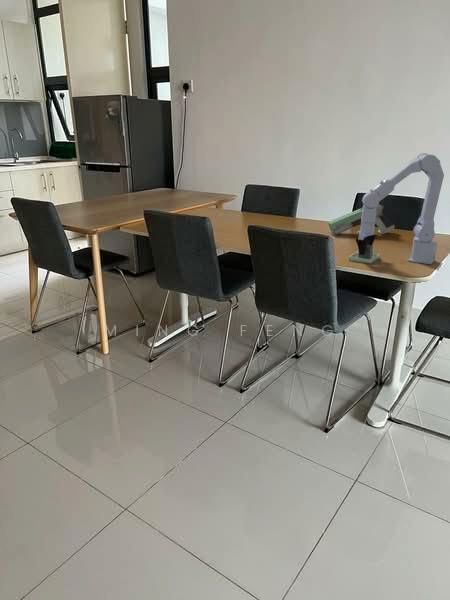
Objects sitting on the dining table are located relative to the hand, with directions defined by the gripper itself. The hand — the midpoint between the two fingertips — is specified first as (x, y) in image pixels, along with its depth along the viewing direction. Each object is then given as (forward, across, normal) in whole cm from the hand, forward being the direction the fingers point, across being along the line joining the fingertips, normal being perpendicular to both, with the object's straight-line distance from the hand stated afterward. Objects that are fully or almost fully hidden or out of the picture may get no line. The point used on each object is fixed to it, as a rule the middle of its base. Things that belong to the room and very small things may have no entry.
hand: (364, 252), depth 196 cm
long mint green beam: (+3, -46, -18) cm, 50 cm away
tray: (+3, 0, 0) cm, 3 cm away
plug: (+2, 0, 0) cm, 2 cm away
